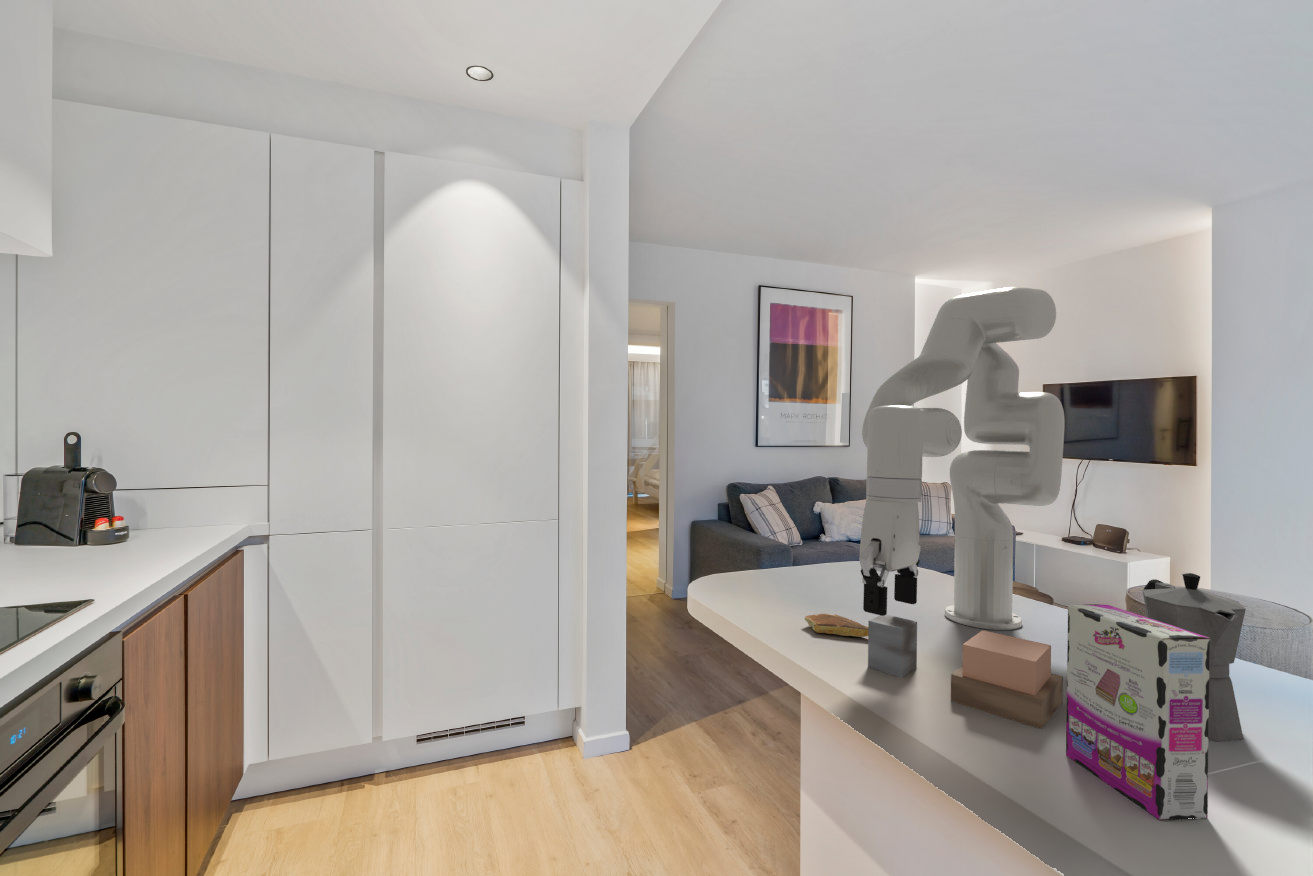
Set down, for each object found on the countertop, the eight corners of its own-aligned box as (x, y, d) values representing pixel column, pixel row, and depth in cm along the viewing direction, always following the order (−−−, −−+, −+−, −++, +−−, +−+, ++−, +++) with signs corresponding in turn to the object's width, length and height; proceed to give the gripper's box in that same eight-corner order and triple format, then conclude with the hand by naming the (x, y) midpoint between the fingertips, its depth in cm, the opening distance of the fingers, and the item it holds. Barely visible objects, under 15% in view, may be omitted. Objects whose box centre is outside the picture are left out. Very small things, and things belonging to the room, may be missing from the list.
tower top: (982, 659, 81) (982, 630, 81) (1050, 676, 75) (1051, 645, 75) (962, 675, 75) (962, 644, 75) (1035, 695, 69) (1035, 661, 69)
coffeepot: (1282, 758, 63) (1284, 590, 63) (1179, 747, 65) (1180, 584, 65) (1187, 696, 78) (1188, 560, 78) (1105, 689, 80) (1107, 556, 80)
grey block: (883, 659, 90) (884, 613, 90) (916, 669, 86) (917, 621, 86) (867, 668, 86) (868, 620, 86) (901, 678, 83) (902, 629, 83)
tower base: (977, 683, 82) (978, 654, 82) (1062, 707, 75) (1062, 676, 75) (950, 705, 76) (951, 674, 76) (1041, 734, 68) (1041, 700, 68)
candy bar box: (1212, 821, 52) (1215, 637, 52) (1160, 824, 52) (1162, 638, 52) (1106, 753, 63) (1107, 601, 63) (1062, 755, 63) (1064, 602, 63)
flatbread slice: (877, 639, 97) (877, 628, 97) (840, 645, 94) (840, 634, 94) (834, 621, 107) (834, 611, 107) (799, 626, 104) (799, 616, 104)
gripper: (894, 487, 95) (892, 593, 94) (839, 490, 83) (836, 612, 83) (943, 490, 89) (940, 603, 89) (891, 494, 77) (888, 624, 77)
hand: (890, 607), depth 86 cm, fingers open, 9 cm apart
